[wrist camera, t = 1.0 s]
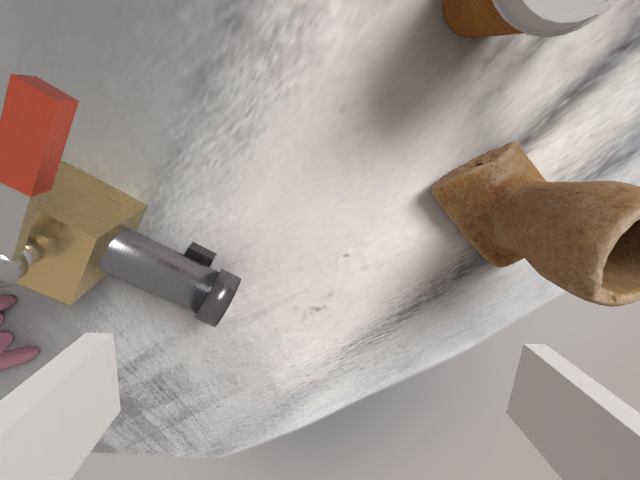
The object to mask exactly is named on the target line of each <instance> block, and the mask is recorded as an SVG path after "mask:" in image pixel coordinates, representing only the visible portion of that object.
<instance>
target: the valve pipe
mask: <svg viewBox="0 0 640 480" xmlns="http://www.w3.org/2000/svg"><path fill="white" fill-rule="evenodd" d="M146 208H147V205H145V204H144V203H142V202H140V201H138V200H136V199H134V198H132V197H130V196H128V195H126V194H124V193H122V192H120V191H119V190H117V189H115V188H113V187H111V186H109V185H107V184H105V183H103V182H101V181H99V180H97V179H95V178H94V177H92V176H90V175H88V174H86V173H84V172H82V171H80V170H78V169H76V168H74V167H72V166H70V165H68V164H67V163H65V162H63V161H61V162H60V163H59V166H58V170H57V173H56V176H55V179H54V182H53V186H52V189H51V190H50V191H47V192H44V193H41V196H40V199H39V202H38V206H37V209H36V212H35V216H34V219H33V222H32V226H31V229H30V232H29V236H28V239H27V243H26V246H25V249H24V253H23V255H24V257H25V258H26V260H27V262H28V266H29V269H28V272H27V274H26V275H25V276H24V277H22V278H20V279H19V280H17V281H16V282H14V283H17V284H19V285H21V286H24V287H26V288H29V289H31V290H34V291H36V292H39V293H41V294H43V295H46V296H48V297H51V298H53V299H56V300H58V301H61V302H63V303H65V304H68V305H70V306H71V305H72V304H73V303H74V302H75V301H77V300H78V299H79V298H80V297H81V296H82V295H83V294H85V293H86V292H87V291H88V290H89V289H90V288H92V287H93V286H94V285H95V284H96V283H97V282H98V281H100V280H101V279H102V278H103V277H104V276H105V275H107V274H109V275H111V276H113V277H116V278H118V279H120V280H122V281H125V282H127V283H129V284H131V285H134V286H136V287H138V288H140V289H143V290H145V291H147V292H149V293H151V294H154V295H156V296H158V297H160V298H163V299H165V300H167V301H169V302H172V303H174V304H176V305H178V306H181V307H183V308H185V309H187V310H190V311H192V312H194V313H196V315H195V317H194V318H195V319H198V320H200V321H202V322H204V323H207V324H209V325H211V326H213V327H216V326H217V324H218V323H219V321H220V320H221V318H222V317H223V315H224V313H225V312H226V310H227V308H228V306H229V305H230V303H231V301H232V299H233V297H234V295H235V293H236V291H237V289H238V286H239V284H240V281H241V278H239V277H237V276H235V275H233V274H231V273H229V272H227V271H225V270H223V269H221V270H220V272H217V271H215V270H213V269H211V268H209V267H210V265H211V263H212V261H213V260H214V258H215V256H216V253H214V252H212V251H210V250H208V249H206V248H204V247H202V246H200V245H198V244H196V243H194V242H193V243H192V244H191V245H190V246H189V248H188V250H187V251H186V253H185V255H183V254H181V253H179V252H177V251H175V250H173V249H171V248H169V247H167V246H164V245H162V244H160V243H158V242H156V241H154V240H152V239H150V238H148V237H146V236H144V235H142V234H140V233H138V232H136V230H137V228H138V226H139V224H140V221H141V219H142V217H143V214H144V212H145V210H146Z"/></svg>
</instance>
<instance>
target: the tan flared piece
mask: <svg viewBox="0 0 640 480" xmlns="http://www.w3.org/2000/svg"><path fill="white" fill-rule="evenodd" d="M431 190H432V194H433V195H434V197H435V198H436V200H437V201H438V203H439V204H440V205H441V207H442V208H443V210H444V211H445V212H446V214H447V215H448V216H449V218H450V219H451V220H452V221H453V222H454V224H455V225H456V226H457V227H458V228H459V230H460V231H461V232H462V234H463V235H464V236H465V237H466V239H467V240H468V241H469V242H470V243H471V245H472V246H473V247H474V248H475V249H476V250H477V251H478V252H479V253H480V254H481V255H482V256H483V258H485V259H486V260H487V261H488V262H490V263H491V264H493V265H495V266H497V267H504V266H508V265H510V264H513V263H515V262H517V261H519V260H521V259H523V258H525V259H526V260H527V261H528V262H529V263H530V264H531V265H532V267H533V268H534V269H535V270H536V271H537V272H538V273H539V274H540V275H541V276H543V277H544V278H546V279H547V280H549V281H551V282H552V283H554V284H556V285H557V286H559V287H560V288H562V289H564V290H566V291H568V292H570V293H571V294H573V295H575V296H577V297H579V298H581V299H583V300H586V301H589V302H592V303H596V304H599V305H605V306H621V305H625V304H630V303H633V302H636V301H638V300H640V187H639V186H635V185H631V184H627V183H622V182H616V181H590V182H546V180H545V179H544V178H543V177H542V175H541V174H540V173H539V171H538V170H537V169H536V167H535V166H534V165H533V163H532V162H531V161H530V159H529V158H528V157H527V156H526V154H525V153H524V151H523V150H522V148H521V147H520V145H519V144H518V143H517V142H510V143H508V144H506V145H505V146H503V147H501V148H498V149H495V150H492V151H489V152H487V153H486V154H484V155H482V156H479V157H478V158H476V159H473V160H471V161H469V162H468V163H467V164H465V165H463V166H460V167H458V168H456V169H454V170H453V171H451V172H450V173H449V174H448V175H447V176H444V177H443V178H441V179H440V180H439V181H438V182H437V183H436V184H435V185H433V186H432V189H431Z"/></svg>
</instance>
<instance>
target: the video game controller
mask: <svg viewBox="0 0 640 480" xmlns="http://www.w3.org/2000/svg"><path fill="white" fill-rule="evenodd" d="M16 300H17V299H16V297H14V296H0V311H1V310H4V309H6V308H8V307H9V306H11V305H13V304H14V303H15V302H16ZM3 320H4V318H3V315H2V314H1V313H0V325H1V324H2V323H3ZM12 341H13V335H12V334H10V333H9V332H7V331H5V330H0V371H1V370H4V369H7V368H10V367H13V366H16V365H19V364H22V363H25V362H27V361H29V360H31V359H33V358H34V357H36V356H37V355H38V354H39V352H40V350H39V348H37V347H24V348H18V349H13V350H9V351H4V350H5V349H6V348H7V347H8V346H9V345H10V344H11V343H12Z"/></svg>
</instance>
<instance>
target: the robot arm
mask: <svg viewBox="0 0 640 480" xmlns="http://www.w3.org/2000/svg"><path fill="white" fill-rule="evenodd" d="M120 411H121V408H120V398H119V388H118V378H117V367H116V357H115V347H114V337H113V333H85V334H84V335H83V336H81V337H80V338H79V339H78V340H76V341H75V342H74V343H73V344H71V345H70V346H69V347H68V348H66V349H65V350H64V351H62V352H61V353H60V354H59V355H57V356H56V357H55V358H54V359H52V360H51V361H50V362H49V363H47V364H46V365H45V366H43V367H42V368H41V369H40V370H38V371H37V372H36V373H35V374H33V375H32V376H31V377H30V378H28V379H27V380H26V381H25V382H23V383H22V384H21V385H19V386H18V387H17V388H16V389H14V390H13V391H12V392H11V393H9V394H8V395H7V396H6V397H4V398H3V399H2V400H1V401H0V480H71V478H72V477H73V475H74V474H75V473H76V471H77V470H78V469H79V467H80V466H81V464H82V463H83V462H84V460H85V459H86V457H87V456H88V454H89V453H90V452H91V451H92V449H93V448H94V446H95V445H96V444H97V442H98V441H99V440H100V438H101V437H102V435H103V434H104V433H105V431H106V430H107V429H108V427H109V426H110V424H111V423H112V422H113V420H114V419H115V417H116V416H117V415H118V413H119V412H120ZM507 414H508V415H509V416H510V418H511V419H512V420H513V421H514V422H515V424H516V425H517V426H518V427H519V428H520V430H521V431H522V432H523V433H524V434H525V436H526V437H527V438H528V439H529V440H530V442H531V443H532V444H533V445H534V446H535V447H536V449H537V450H538V451H539V452H540V454H541V455H542V456H543V457H544V458H545V459H546V461H547V462H548V463H549V464H550V466H551V467H552V468H553V469H554V470H555V471H556V473H557V474H558V475H559V476H560V477H561V479H562V480H640V413H638V412H637V411H636V410H634V409H633V408H631V407H630V406H629V405H627V404H626V403H625V402H623V401H622V400H620V399H619V398H618V397H616V396H615V395H614V394H612V393H611V392H609V391H608V390H607V389H605V388H604V387H603V386H601V385H600V384H599V383H597V382H596V381H594V380H593V379H592V378H590V377H589V376H587V375H586V374H585V373H584V372H582V371H581V370H579V369H578V368H577V367H575V366H574V365H573V364H571V363H570V362H568V361H567V360H566V359H564V358H563V357H562V356H560V355H559V354H558V353H556V352H555V351H553V350H552V349H551V348H549V347H548V346H547V345H545V344H523V348H522V353H521V357H520V361H519V364H518V368H517V372H516V376H515V380H514V384H513V388H512V392H511V396H510V400H509V405H508V408H507Z"/></svg>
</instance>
